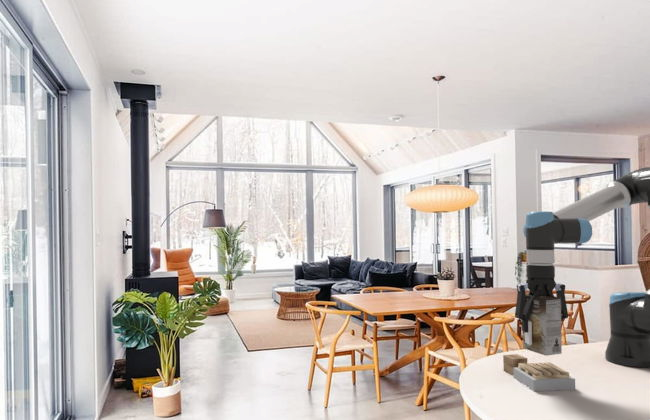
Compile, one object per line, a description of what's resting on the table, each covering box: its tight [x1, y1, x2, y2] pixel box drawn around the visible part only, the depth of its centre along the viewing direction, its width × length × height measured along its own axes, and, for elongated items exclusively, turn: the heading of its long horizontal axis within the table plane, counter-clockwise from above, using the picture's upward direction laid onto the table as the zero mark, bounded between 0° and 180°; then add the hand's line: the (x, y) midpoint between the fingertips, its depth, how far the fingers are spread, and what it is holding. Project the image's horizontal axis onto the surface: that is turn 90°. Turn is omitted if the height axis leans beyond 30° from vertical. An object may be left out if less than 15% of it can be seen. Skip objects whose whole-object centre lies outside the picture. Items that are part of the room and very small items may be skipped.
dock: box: [513, 367, 576, 392], centre depth 140 cm, size 12×12×3 cm
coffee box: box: [522, 293, 563, 357], centre depth 140 cm, size 9×6×16 cm
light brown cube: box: [502, 353, 528, 376], centre depth 150 cm, size 5×5×5 cm
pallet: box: [518, 362, 570, 379], centre depth 140 cm, size 10×10×2 cm
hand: (542, 343), depth 140 cm, fingers closed on coffee box, 7 cm apart
